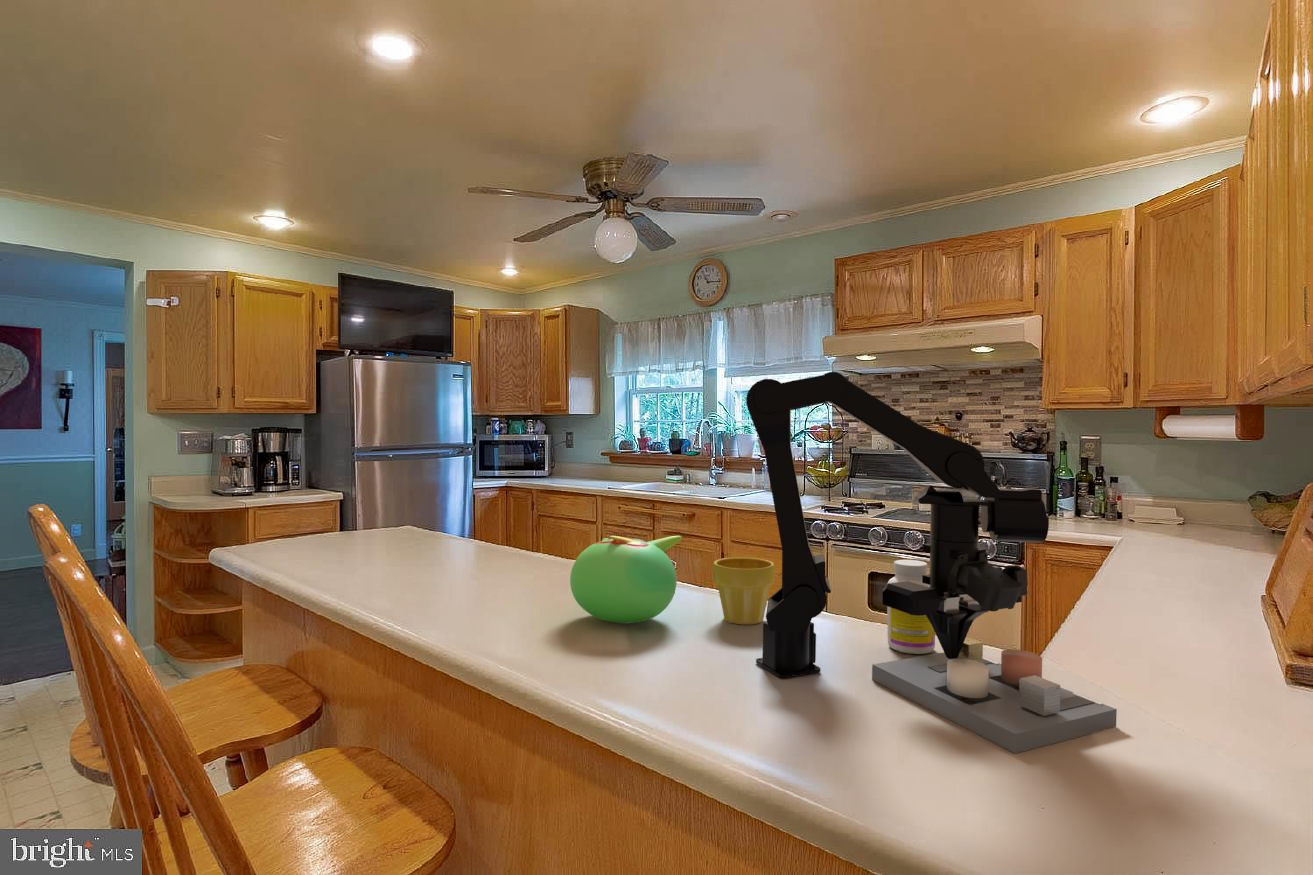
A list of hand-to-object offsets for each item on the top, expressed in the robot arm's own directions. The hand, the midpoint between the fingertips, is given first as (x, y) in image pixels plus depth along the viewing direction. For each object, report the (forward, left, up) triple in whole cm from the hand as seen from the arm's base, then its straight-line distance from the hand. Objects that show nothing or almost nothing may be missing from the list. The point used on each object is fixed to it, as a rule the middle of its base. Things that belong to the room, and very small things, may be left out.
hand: (951, 658), depth 86 cm
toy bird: (-30, +41, -3) cm, 51 cm away
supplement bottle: (+5, +12, -3) cm, 14 cm away
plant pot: (-11, +34, -3) cm, 36 cm away
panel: (-1, -6, -3) cm, 7 cm away
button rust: (+4, -7, -1) cm, 8 cm away
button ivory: (-5, -7, -1) cm, 9 cm away
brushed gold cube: (+3, 0, -1) cm, 3 cm away
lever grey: (-2, -13, -1) cm, 14 cm away
